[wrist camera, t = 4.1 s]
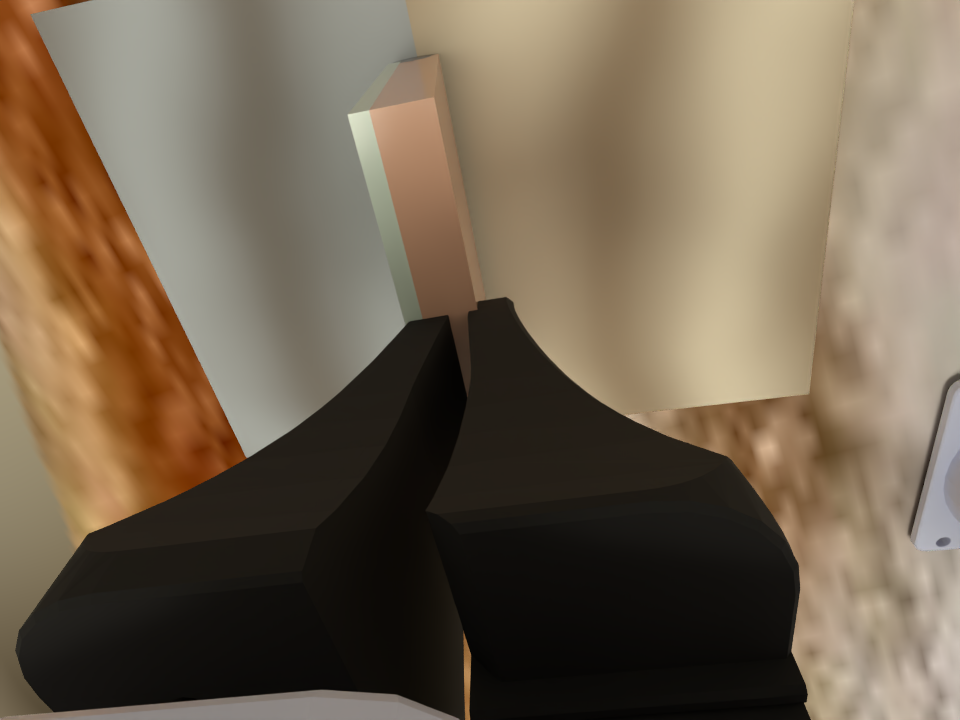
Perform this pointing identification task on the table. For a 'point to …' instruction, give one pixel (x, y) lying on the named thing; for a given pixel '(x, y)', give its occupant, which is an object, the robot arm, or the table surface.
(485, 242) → the tile board
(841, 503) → the table surface
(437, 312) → the tile
